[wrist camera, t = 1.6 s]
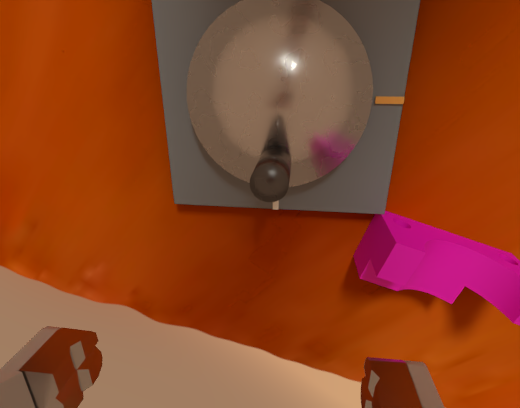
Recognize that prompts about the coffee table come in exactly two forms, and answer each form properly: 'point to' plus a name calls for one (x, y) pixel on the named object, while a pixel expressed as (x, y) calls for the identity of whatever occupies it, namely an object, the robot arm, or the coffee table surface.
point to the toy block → (437, 263)
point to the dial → (279, 92)
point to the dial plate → (340, 178)
